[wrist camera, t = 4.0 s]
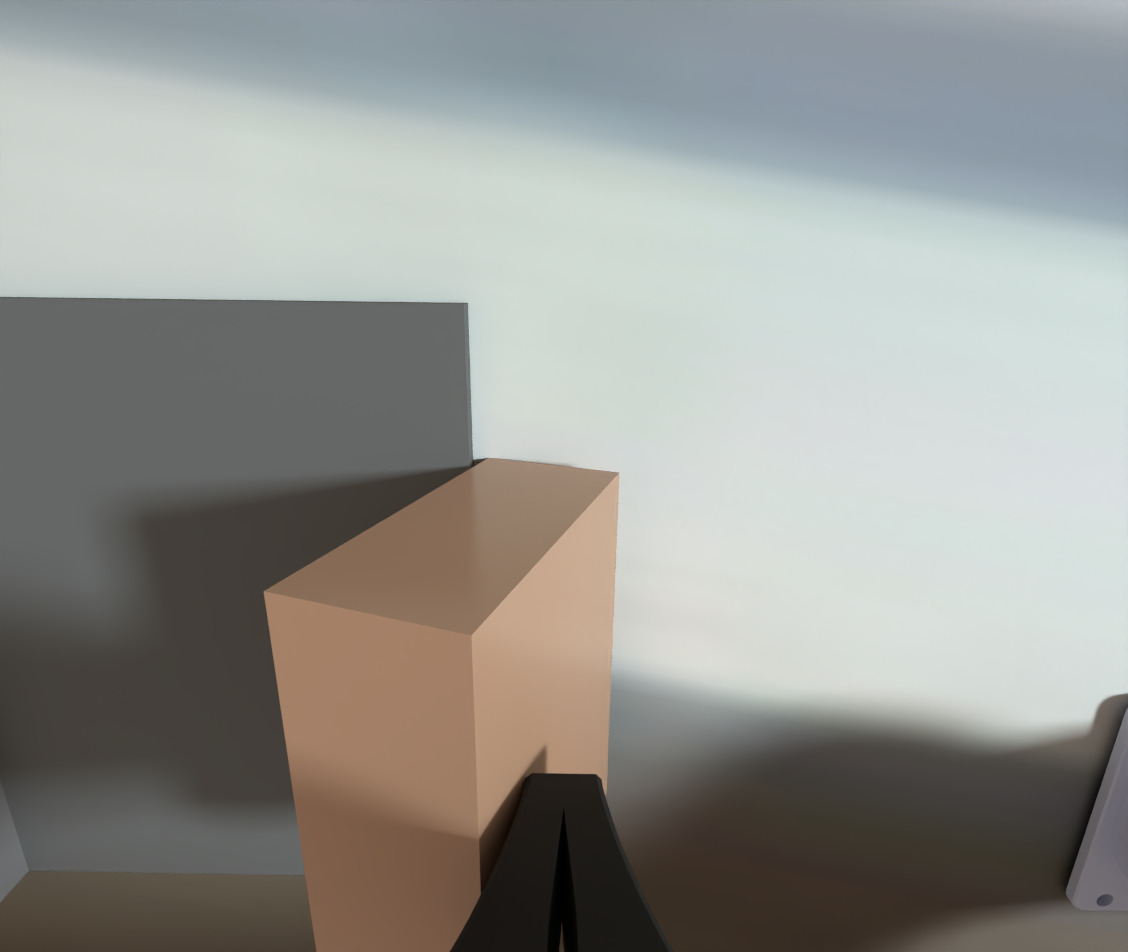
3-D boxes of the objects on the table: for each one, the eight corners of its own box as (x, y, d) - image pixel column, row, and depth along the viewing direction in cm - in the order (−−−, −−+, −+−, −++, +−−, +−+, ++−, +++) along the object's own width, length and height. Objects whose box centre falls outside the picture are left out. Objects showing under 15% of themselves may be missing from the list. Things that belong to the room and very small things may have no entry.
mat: (467, 303, 16) (455, 306, 14) (485, 861, 21) (478, 913, 20) (-177, 294, 16) (-267, 297, 14) (7, 853, 21) (-42, 904, 20)
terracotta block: (619, 472, 16) (471, 635, 9) (606, 793, 19) (488, 1106, 12) (488, 457, 17) (263, 591, 10) (496, 762, 20) (328, 1031, 13)
